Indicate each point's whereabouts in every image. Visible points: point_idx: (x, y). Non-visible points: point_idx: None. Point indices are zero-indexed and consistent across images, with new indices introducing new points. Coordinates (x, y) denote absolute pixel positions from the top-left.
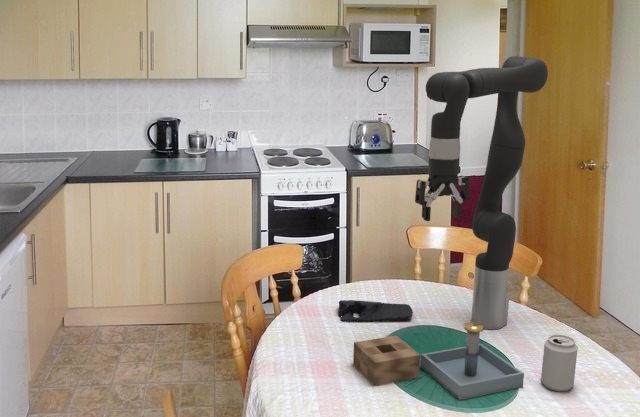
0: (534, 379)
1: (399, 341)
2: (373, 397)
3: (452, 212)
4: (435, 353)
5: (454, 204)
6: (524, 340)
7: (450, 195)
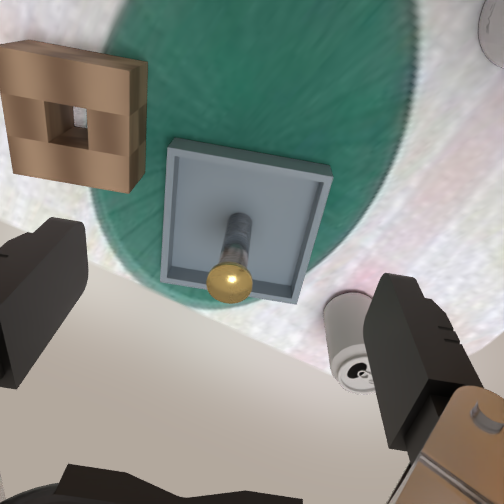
0: (336, 281)
1: (118, 109)
2: (25, 187)
3: (393, 289)
4: (201, 160)
5: (407, 385)
6: (491, 158)
7: (416, 463)
